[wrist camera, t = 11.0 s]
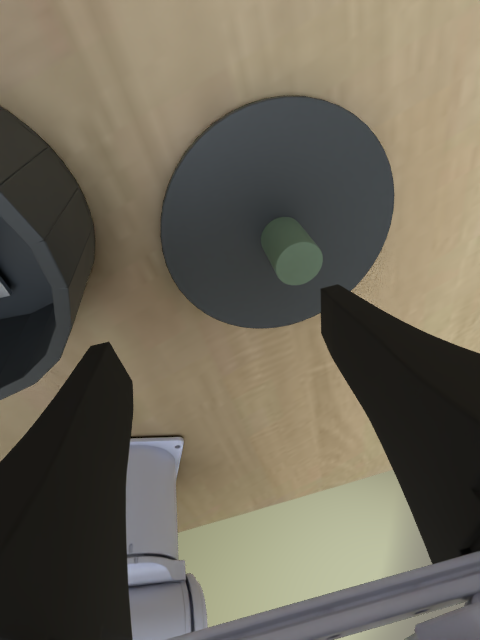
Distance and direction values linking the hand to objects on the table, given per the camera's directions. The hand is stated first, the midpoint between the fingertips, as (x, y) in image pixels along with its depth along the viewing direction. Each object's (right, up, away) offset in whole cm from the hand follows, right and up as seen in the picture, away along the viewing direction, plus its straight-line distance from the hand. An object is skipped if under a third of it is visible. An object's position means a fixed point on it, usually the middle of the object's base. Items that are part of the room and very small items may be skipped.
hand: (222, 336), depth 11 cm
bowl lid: (+3, +6, +8) cm, 10 cm away
